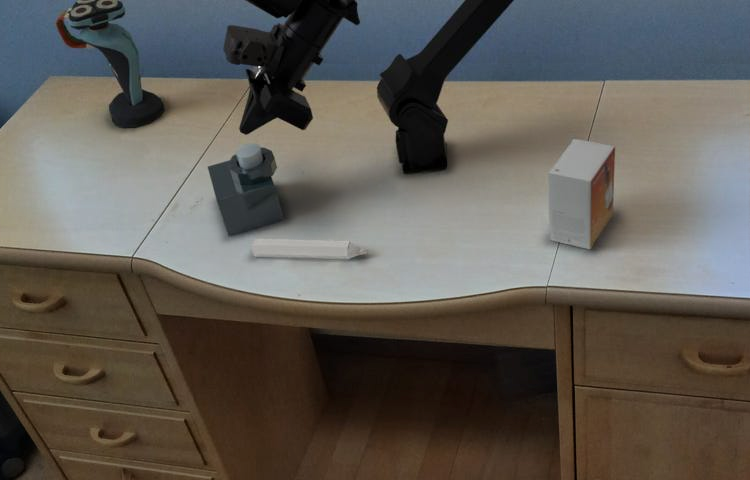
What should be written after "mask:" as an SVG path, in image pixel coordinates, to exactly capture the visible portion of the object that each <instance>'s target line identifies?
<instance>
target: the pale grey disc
mask: <svg viewBox="0 0 750 480" xmlns="http://www.w3.org/2000/svg"><path fill="white" fill-rule="evenodd" d="M260 147H261V146H260V145H259V144H258V143H254V142H248V143H245V144H242V145H241V146H239V147H238V148H237V149H236V150H235V154H236V156H237V159H238V162H239V166H240V167H241V168H242V169H251V168H255V167H258V166H259V165H261V164H262V163H263V161H264V159H263V155H262V152H261V148H260Z"/></svg>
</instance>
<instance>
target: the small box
mask: <svg viewBox="0 0 750 480" xmlns="http://www.w3.org/2000/svg"><path fill="white" fill-rule="evenodd" d="M615 159H616V147H615V146H613V145H609V144H605V143H604V144H603V143H599V142H593V141H588V140H582V139H578V138H573V139H572V140H571V141H570V143H569V145H568V147H566V149H565V150H564V152H563V153H562V155H560V157H559V158H558V160H557V161H556V162H555V163H554V165H553V166H552V168H550V170H549V171H548V172H547V188H548V193H547V194H548V226H549V227H548V228H549V240H550V241H553V242H557V243H561V244H565V245H570V246H573V247H577V248H582V249H586V250H591V249H592V248H593V246H594V244H595V242H596V241H597V240H598V238H599V236H600V235H601V233H602V231H603V230H604V228H605V227H606V226H607V224H608V223H609V222H610V220H611V218H612V217H613V215H614V195H615V164H616V160H615Z"/></svg>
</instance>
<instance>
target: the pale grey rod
mask: <svg viewBox="0 0 750 480" xmlns="http://www.w3.org/2000/svg"><path fill="white" fill-rule="evenodd" d="M251 250H252V255H253V256H255V257H256V258H285V259H314V260H315V259H319V260H351V259H353V258H355V257H357V256H360V255H361V256H362V255H365V254H368V253H371V251H370V250H367V249H364V248H362V247H359V246H358V245H356V244H354V243H352V242H351V241H350V240H322V239H321V240H319V239H318V240H317V239H279V238H277V239H276V238H254V240H253V242H252V244H251Z"/></svg>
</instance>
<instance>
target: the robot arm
mask: <svg viewBox="0 0 750 480" xmlns="http://www.w3.org/2000/svg"><path fill="white" fill-rule="evenodd" d="M514 1H515V0H464V1H463V2H462V3H461V4H460V6H459V7H458V8H457V9H456V10H455V11H454V12H453V14H451V16H450V17H449V18H448V20H447V21H446V22H445V23H444V24H443V25H442V27H441V28H440V29H439V30H438V31H437V33H436V34H435V35H434V36H433V37H432V38H431V39H430V41H428V43H427V44H426V45H425V46H424V48H423V49H422V50H421V51H420V52H419V53H417V54H416V55H413V56H411V57H408V58H405V57H404V56H403V55H402V53H398V54H397V55H396V56H395V57H394V59H393V60H392V62H391V63H390V65H389V66H388V67H387V68H386V69H385V70H384V71H382V72H381V73H379V76H380V78H381V79H380V80H379V82H378V83H377V86H376V96H377V99H378V102H379V104H380V105H381V107H382V109H383V110H384V112H385V113H386V116H387V117H388V118H389V120H390V122H391V124H393V126H395V127H397V130H395V139H394V140H395V145H396V153H397V159H398V163H399V164H400V165H402V166H401V167H402V169H401V170H402V173H403V174H404V175H406V174H407V175H409V174H417V173H427V172H435V171H436V172H437V171H445V170H448V168H449V161H448V143H447V142H446V136H445V133H446V131H447V126H448V123H449V119H448V118H447V117H446V115H445V114H444V112H443V110H442V109H441V108H440V106H439V105H438V101H439V98H440V95H441V92H442V90H443V87H444V83H445V80H446V79H447V77H448V76H449V75H450V74H451V72H453V70H455V68H456V67H457V66H458V65H459V64H460V63H461V61H463V59H464V58H465V57H466V56H467V55H468V53H469V52H470V51H471V50H472V49H473V48H474V47H475V46H476V44H477V43H478V42H479V41H480V40H481V39H482V37H484V35H485V34H486V33H487V32H488V31H489V29H490V28H491V27H492V26H493V25H494V24H495V23H496V22H497V20H498V19H499V18H500V17H501V16H502V15H503V14H504V12H505V11H506V10H508V8H509V7H510V5H512V4H513V2H514ZM245 2H247V3H249V4H251V5H253V6H255V7H256V8H258V9H260V10H261V11H263V12H265V13H267V14H268V15H270V16H272V17H273V18H275V19H280V18H284V19H286V20H285V22H284V23H280V22H278V23H277V24H274V25H273V26H272V28H271V29H270V31H265V30H262V29H258V28H252V27H246V26H240V25H233V24H229V25H227V28H226V32H225V37H224V44H223V49H222V51H223V53H224V55H225V59H226V61H227V62H228V63H230V64H231V65H235V66H239V65H244V66H251V67H253V68H252V69H249V68H245V74H246V77H247V81H248V85H249V91H248V96H247V99H246V103H245V107H244V110H243V113H242V117H241V120H240V123H239V128H238V129H239V132H240V134H243V135H247V136H248V135H249V134H251V133H252V132H254V131H256V130H259V129H260V128H262V127H263V126H266V125H267V124H268V123H270V122H272V121H274V120H276V119H279V120H281V121H283V122H286V123H287V124H289V125H291V126H293V127H295V128H297V129H299V130H301V131H306V129H307V128H308V126H309V125H310V124H311V122H312V121H313V120H314V116H313V112H312V108H311V106H310V104H309V102H308V99H307V98H306V96H305V95H302V94H301V93H303V91H304V90H305V89H306V87H307V84H306V82H305V78H306V76H307V74H308V73H309V71H310V70H311V68H312V67H313V65H314V64H315V65H317V66H320V65H321V64H322V62H323V61H324V58H323V55H322V54H321V53H322V52H323V50H324V49H325V47H326V46H327V44H328V42H329V41H330V39H331V37H332V36H333V34H334V33H335V32H336V30H337V28H338V27H339V26H340V24H341V22H342V21H343V19H345V20H346V21H348V22H349V23H351V24H353V25H354V26H359V25H360V23H361V19H360V17H359V11H358V2H357V0H245ZM294 89H296V90H297V91H300V92H301V93H299V92H297V91H295V90H294Z"/></svg>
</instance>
